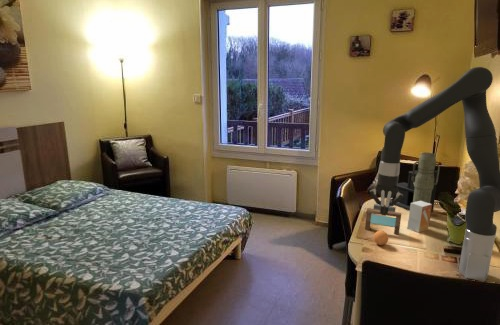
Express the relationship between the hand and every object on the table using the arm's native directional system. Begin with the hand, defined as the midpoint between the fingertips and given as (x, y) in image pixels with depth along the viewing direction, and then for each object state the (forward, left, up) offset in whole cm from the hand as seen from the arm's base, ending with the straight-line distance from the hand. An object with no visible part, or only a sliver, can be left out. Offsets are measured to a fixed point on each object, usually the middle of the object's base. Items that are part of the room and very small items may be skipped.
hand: (383, 214), depth 145 cm
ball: (+9, 0, -14) cm, 17 cm away
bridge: (+25, 0, -17) cm, 30 cm away
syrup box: (+27, -31, -17) cm, 45 cm away
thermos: (+48, -17, -17) cm, 54 cm away
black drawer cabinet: (+68, -13, -17) cm, 72 cm away
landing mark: (+39, 0, -17) cm, 43 cm away
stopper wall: (+54, 0, -17) cm, 57 cm away
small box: (+35, -16, -17) cm, 42 cm away
